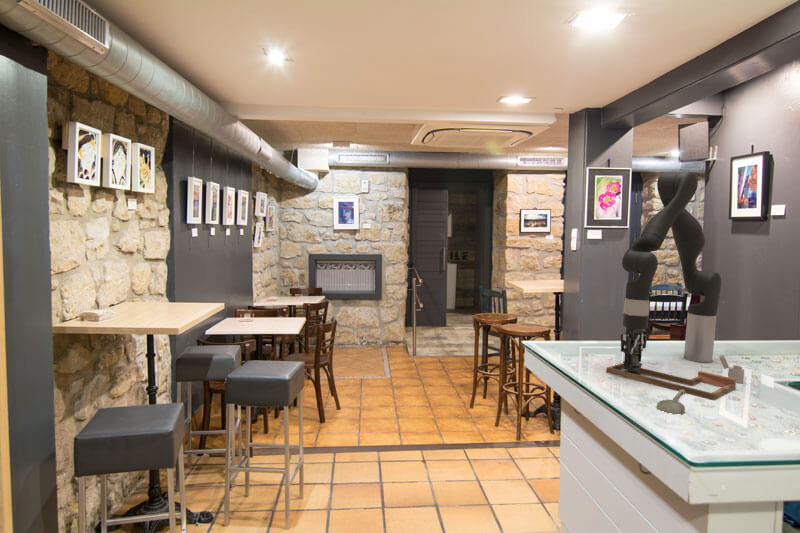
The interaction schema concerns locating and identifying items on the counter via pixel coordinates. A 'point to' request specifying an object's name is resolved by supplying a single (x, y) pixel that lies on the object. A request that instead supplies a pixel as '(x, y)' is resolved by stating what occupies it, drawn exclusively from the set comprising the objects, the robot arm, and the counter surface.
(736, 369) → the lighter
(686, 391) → the track
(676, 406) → the soupspoon
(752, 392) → the counter surface
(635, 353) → the salt shaker
